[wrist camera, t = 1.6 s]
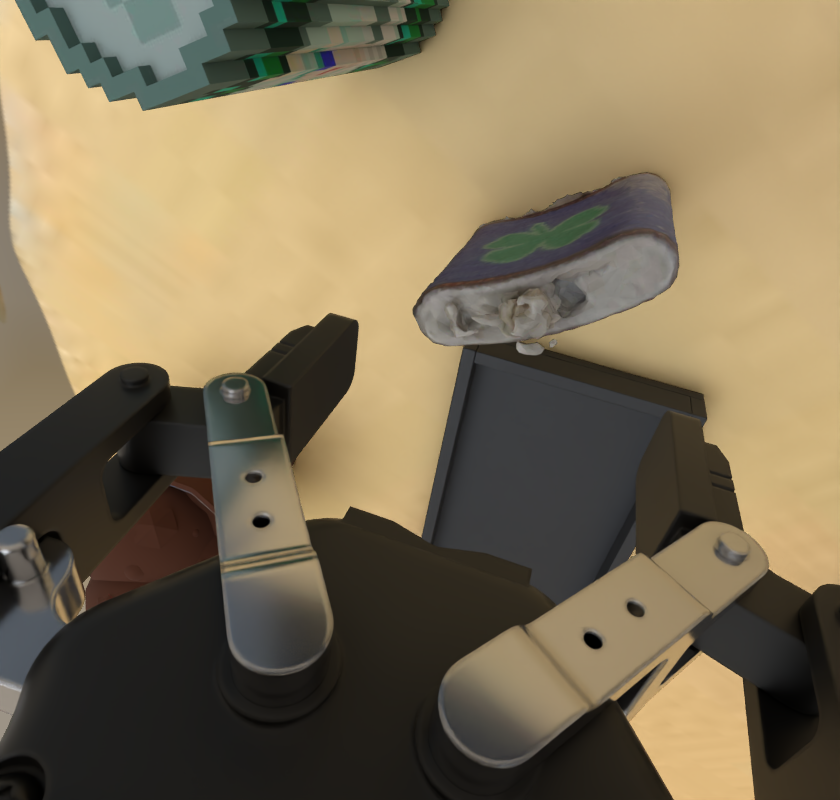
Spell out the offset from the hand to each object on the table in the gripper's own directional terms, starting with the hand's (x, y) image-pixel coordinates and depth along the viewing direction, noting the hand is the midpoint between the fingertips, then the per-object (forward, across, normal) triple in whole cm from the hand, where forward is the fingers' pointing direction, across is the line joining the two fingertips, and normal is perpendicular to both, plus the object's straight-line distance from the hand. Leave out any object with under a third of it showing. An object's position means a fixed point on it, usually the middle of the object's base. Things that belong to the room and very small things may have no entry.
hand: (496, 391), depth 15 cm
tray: (+15, -3, +19) cm, 25 cm away
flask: (+15, 0, 0) cm, 15 cm away
